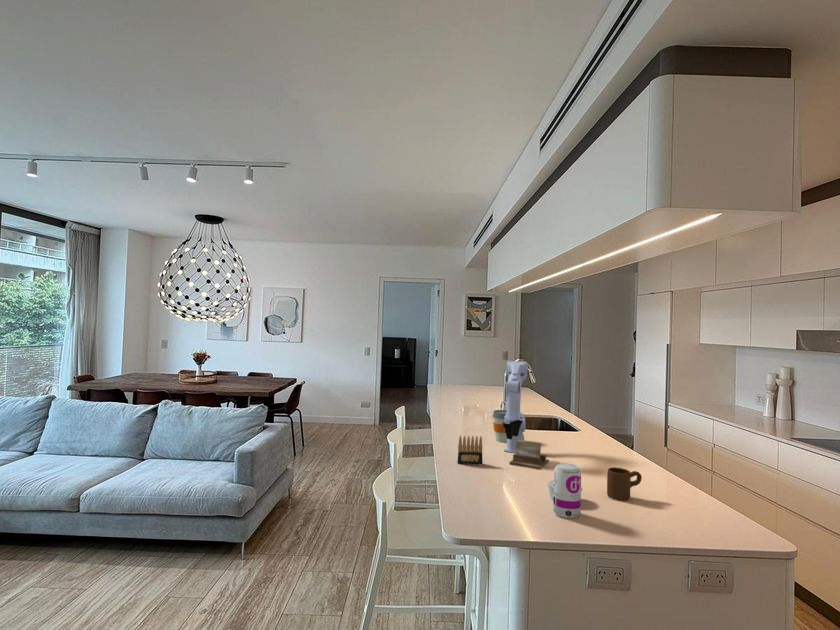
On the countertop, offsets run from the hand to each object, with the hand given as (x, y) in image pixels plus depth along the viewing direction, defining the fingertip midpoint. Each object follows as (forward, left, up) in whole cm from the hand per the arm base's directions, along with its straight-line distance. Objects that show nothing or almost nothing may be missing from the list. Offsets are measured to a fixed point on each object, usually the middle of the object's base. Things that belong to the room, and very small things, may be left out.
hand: (512, 437), depth 219 cm
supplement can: (+54, +38, -10) cm, 67 cm away
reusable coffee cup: (-32, -16, -10) cm, 37 cm away
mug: (+26, +51, -10) cm, 58 cm away
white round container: (+41, +34, -10) cm, 54 cm away
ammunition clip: (+19, -12, -10) cm, 24 cm away
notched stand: (+3, +9, -9) cm, 13 cm away
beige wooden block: (+3, +9, -8) cm, 12 cm away
